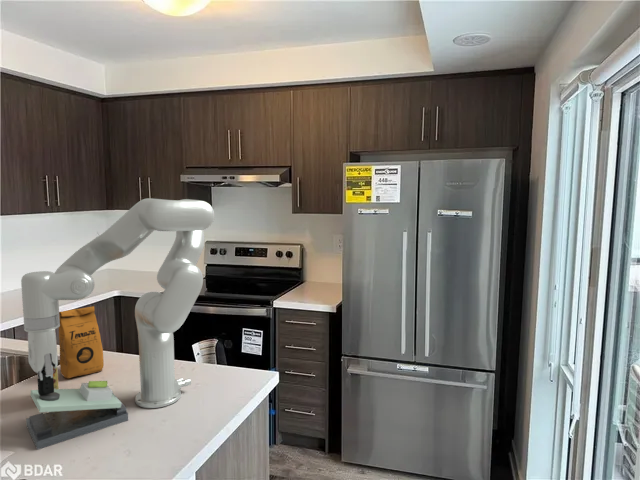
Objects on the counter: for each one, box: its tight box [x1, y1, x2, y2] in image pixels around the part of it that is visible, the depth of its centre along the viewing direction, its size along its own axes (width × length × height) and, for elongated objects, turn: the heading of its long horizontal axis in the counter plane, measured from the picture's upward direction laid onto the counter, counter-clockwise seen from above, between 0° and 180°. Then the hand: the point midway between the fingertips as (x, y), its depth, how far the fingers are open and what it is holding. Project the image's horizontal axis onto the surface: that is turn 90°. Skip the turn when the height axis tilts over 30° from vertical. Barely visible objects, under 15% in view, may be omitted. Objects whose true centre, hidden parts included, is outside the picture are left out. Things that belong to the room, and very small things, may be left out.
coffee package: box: [58, 305, 105, 379], centre depth 151 cm, size 10×12×22 cm
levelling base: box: [25, 401, 129, 450], centre depth 121 cm, size 21×14×3 cm, turn 131°
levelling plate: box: [29, 380, 123, 413], centre depth 120 cm, size 20×12×5 cm, turn 132°
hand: (46, 393), depth 115 cm, fingers closed
